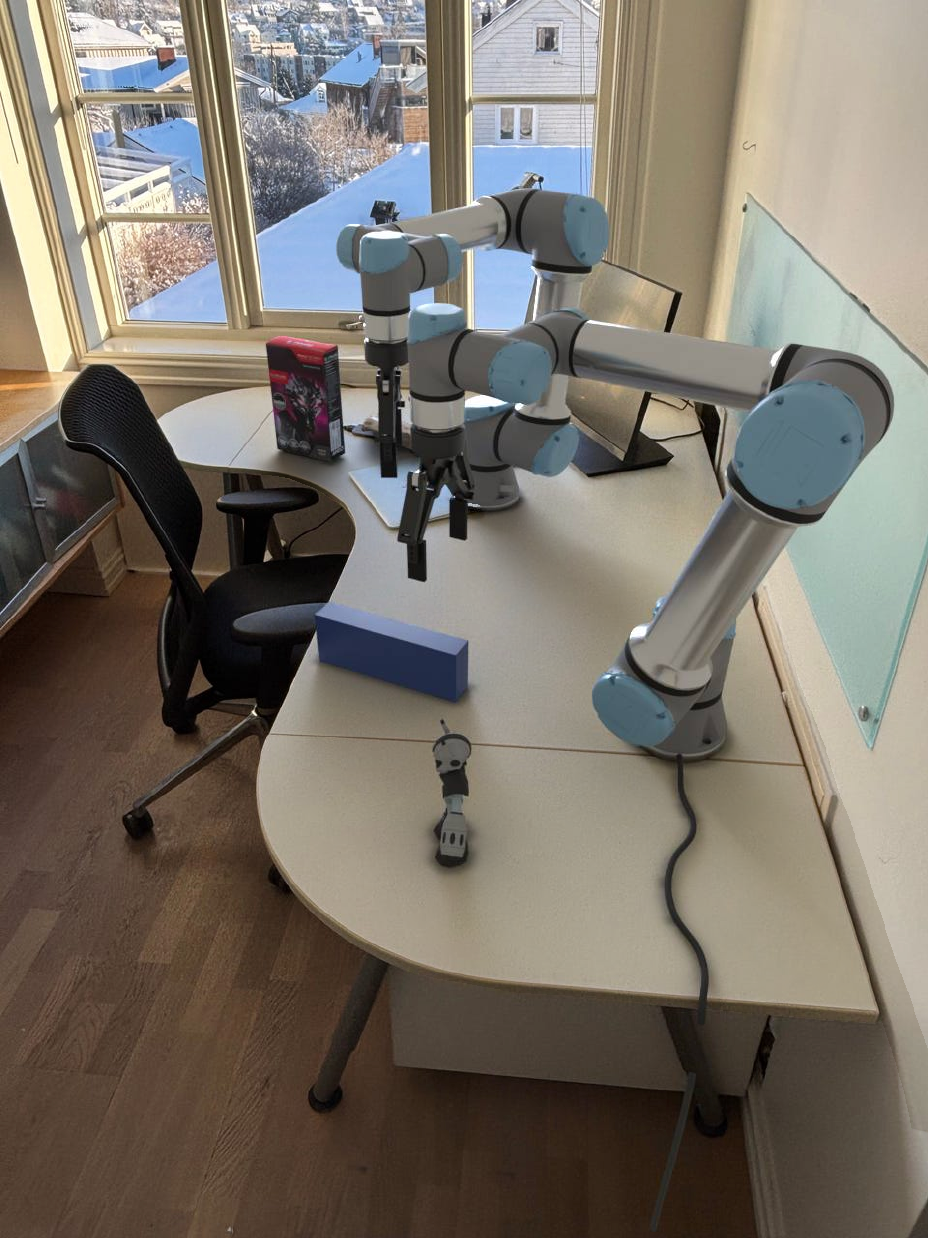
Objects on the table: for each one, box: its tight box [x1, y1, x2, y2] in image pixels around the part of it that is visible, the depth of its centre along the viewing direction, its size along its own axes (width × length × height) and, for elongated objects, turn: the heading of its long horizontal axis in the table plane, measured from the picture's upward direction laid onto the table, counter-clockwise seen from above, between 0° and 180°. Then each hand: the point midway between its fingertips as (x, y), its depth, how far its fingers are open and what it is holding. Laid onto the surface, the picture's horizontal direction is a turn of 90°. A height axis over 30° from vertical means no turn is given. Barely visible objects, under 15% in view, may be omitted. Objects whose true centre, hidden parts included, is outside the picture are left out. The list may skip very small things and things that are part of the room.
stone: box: [360, 413, 411, 450], centre depth 233 cm, size 21×15×6 cm
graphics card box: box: [265, 335, 346, 462], centre depth 222 cm, size 17×7×27 cm, turn 62°
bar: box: [314, 601, 469, 703], centre depth 152 cm, size 26×4×9 cm, turn 65°
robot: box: [431, 718, 473, 868], centre depth 118 cm, size 20×5×20 cm, turn 3°
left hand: (392, 460), depth 159 cm, fingers open, 13 cm apart
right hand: (438, 557), depth 138 cm, fingers open, 13 cm apart
